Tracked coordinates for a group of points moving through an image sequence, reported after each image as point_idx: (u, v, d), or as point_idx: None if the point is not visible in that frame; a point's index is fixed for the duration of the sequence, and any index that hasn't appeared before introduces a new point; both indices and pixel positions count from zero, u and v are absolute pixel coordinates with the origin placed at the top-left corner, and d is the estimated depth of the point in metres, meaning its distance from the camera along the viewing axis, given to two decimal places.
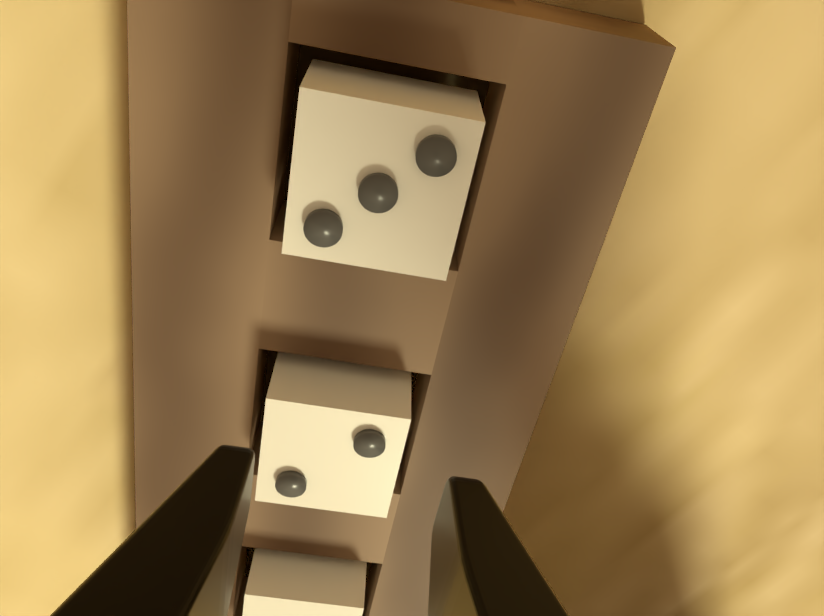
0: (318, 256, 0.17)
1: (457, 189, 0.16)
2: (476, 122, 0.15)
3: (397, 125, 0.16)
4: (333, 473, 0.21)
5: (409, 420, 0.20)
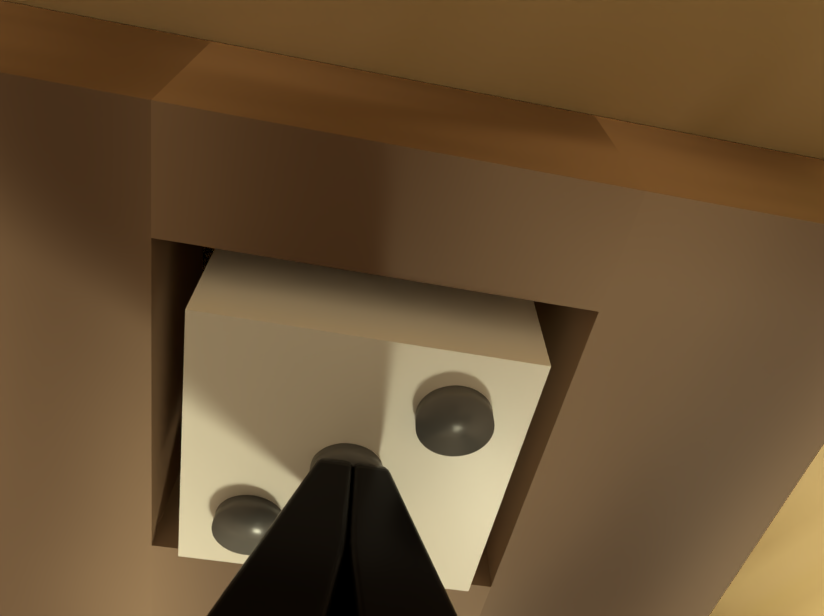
0: (245, 556, 0.10)
1: (492, 467, 0.09)
2: (533, 367, 0.08)
3: (380, 371, 0.08)
4: None
5: None
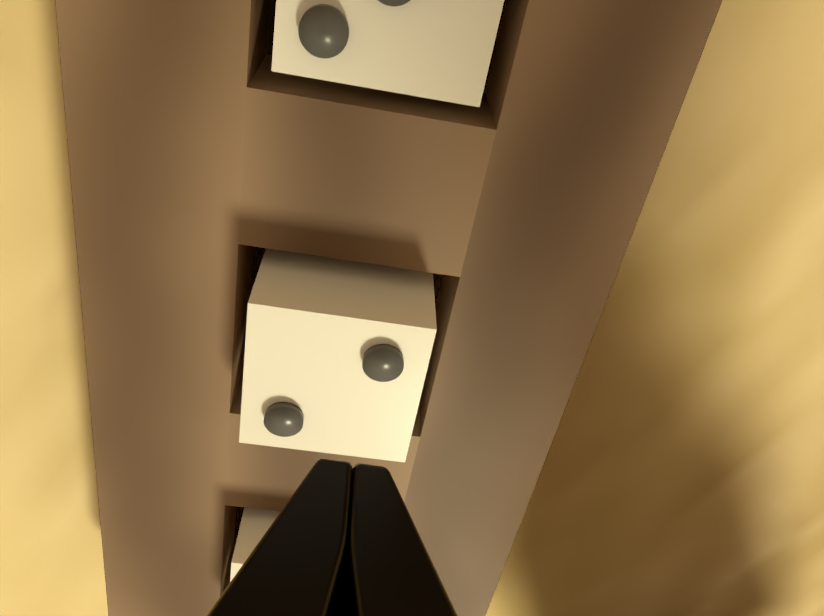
0: (318, 76, 0.14)
1: None
2: None
3: None
4: (338, 405, 0.17)
5: (434, 330, 0.15)
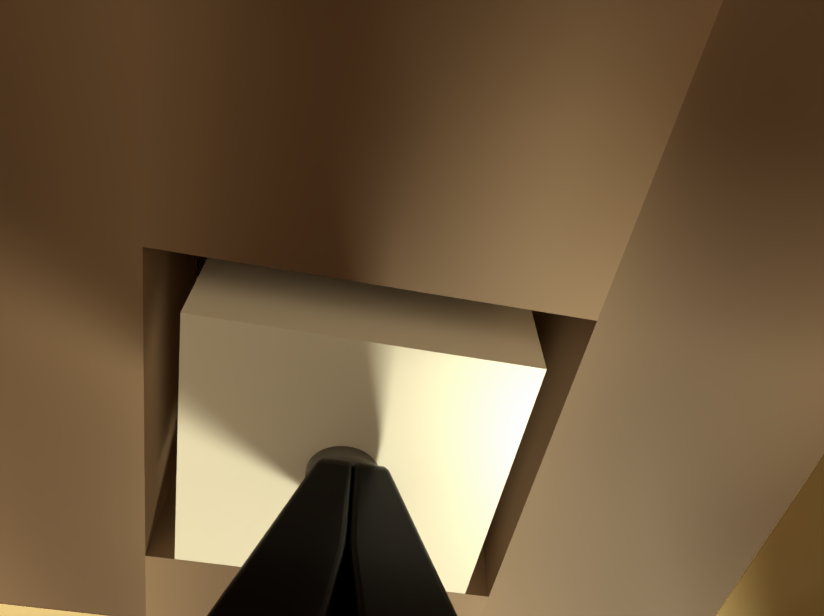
0: None
1: None
2: None
3: None
4: None
5: None
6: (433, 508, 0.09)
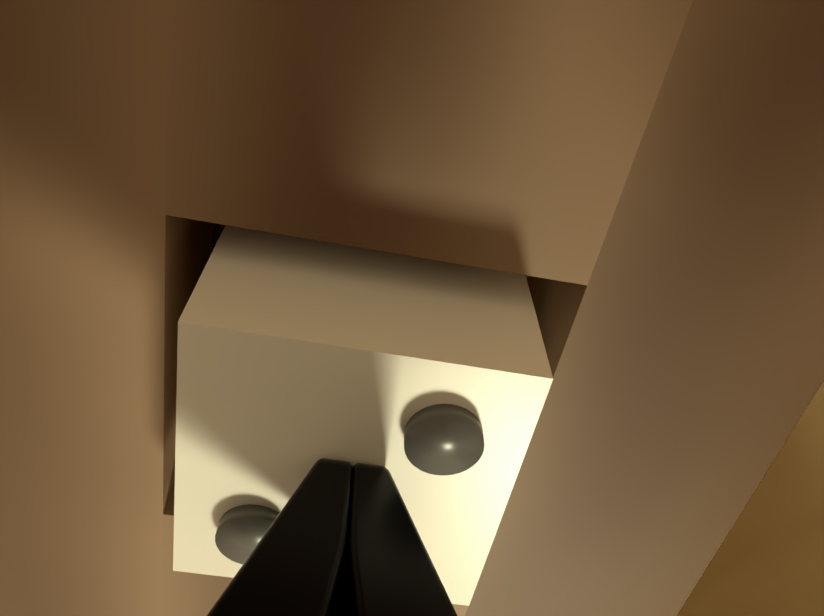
0: None
1: None
2: None
3: None
4: None
5: (548, 381, 0.08)
6: None
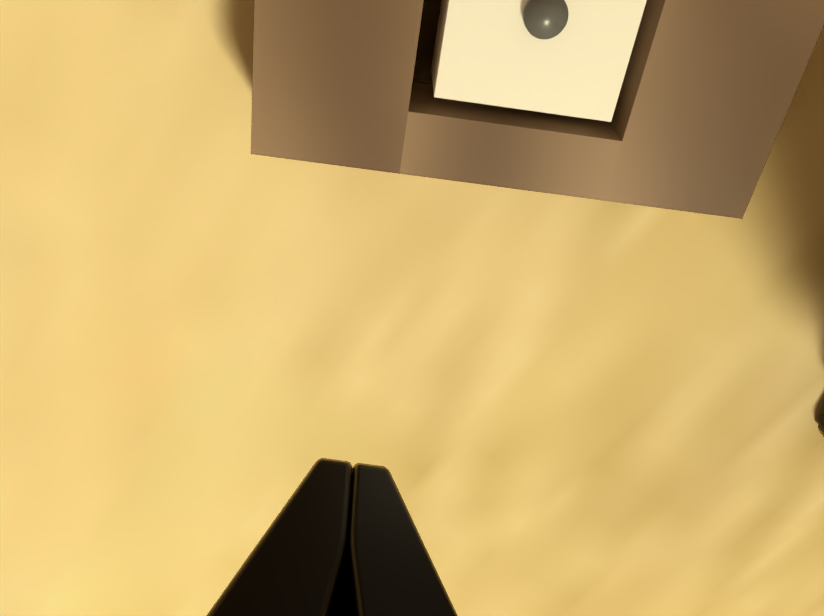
0: None
1: None
2: None
3: None
4: None
5: None
6: (596, 43, 0.15)
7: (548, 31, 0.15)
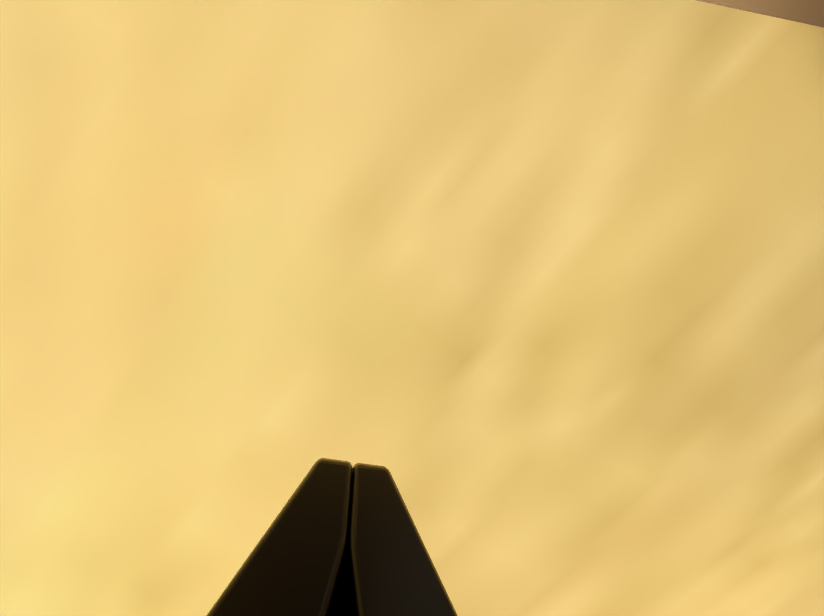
0: None
1: None
2: None
3: None
4: None
5: None
6: None
7: None
